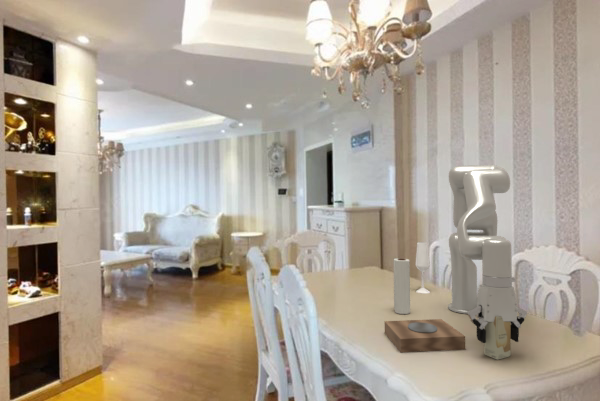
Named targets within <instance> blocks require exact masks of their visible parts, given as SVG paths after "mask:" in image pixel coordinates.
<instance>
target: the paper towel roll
mask: <svg viewBox="0 0 600 401" xmlns="http://www.w3.org/2000/svg"><path fill="white" fill-rule="evenodd" d="M410 269H411V266H410V259H408V258H400V257H399V258H397V257H394V258H393V308H394V313H396V314H399V315H408V314H411V278H410V276H411V272H410V271H411V270H410Z"/></svg>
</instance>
